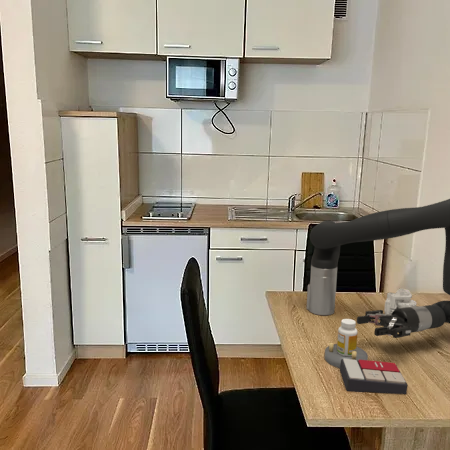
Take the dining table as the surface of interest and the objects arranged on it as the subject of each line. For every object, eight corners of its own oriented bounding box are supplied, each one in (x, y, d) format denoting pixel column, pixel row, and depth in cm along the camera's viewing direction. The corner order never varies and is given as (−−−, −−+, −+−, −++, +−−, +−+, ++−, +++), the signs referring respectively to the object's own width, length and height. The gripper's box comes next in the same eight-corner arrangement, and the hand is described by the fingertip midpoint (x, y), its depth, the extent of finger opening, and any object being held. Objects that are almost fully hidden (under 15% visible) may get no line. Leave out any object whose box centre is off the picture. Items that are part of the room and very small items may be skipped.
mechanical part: (415, 332, 155) (418, 298, 153) (379, 323, 162) (382, 290, 160) (424, 321, 164) (428, 289, 161) (390, 313, 171) (392, 282, 169)
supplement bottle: (356, 350, 138) (358, 319, 136) (355, 358, 133) (357, 326, 131) (337, 347, 139) (339, 316, 137) (335, 355, 134) (338, 323, 132)
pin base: (316, 358, 136) (317, 344, 135) (339, 346, 144) (340, 332, 144) (353, 374, 128) (354, 359, 127) (375, 360, 136) (376, 345, 135)
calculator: (408, 382, 118) (348, 376, 119) (406, 398, 119) (346, 391, 120) (396, 361, 129) (341, 356, 130) (394, 375, 130) (339, 370, 131)
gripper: (397, 299, 147) (352, 305, 142) (430, 316, 134) (382, 323, 129) (394, 322, 149) (351, 328, 144) (427, 341, 136) (380, 349, 130)
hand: (366, 326), depth 136 cm, fingers open, 8 cm apart
